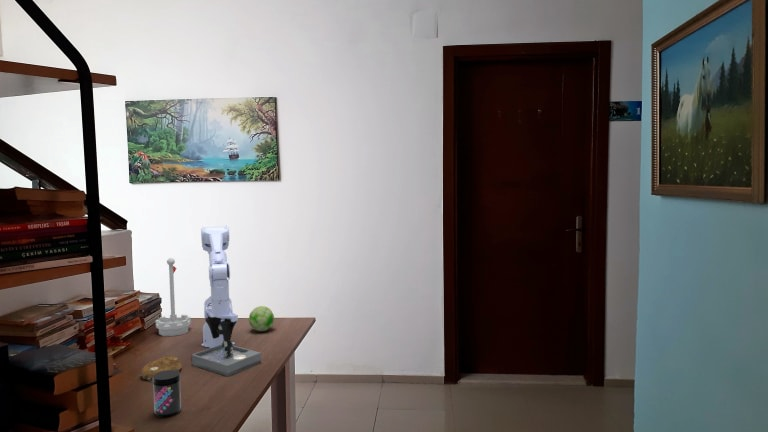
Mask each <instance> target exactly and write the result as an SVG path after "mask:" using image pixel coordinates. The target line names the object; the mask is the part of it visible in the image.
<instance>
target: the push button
mask: <svg viewBox="0 0 768 432" xmlns="http://www.w3.org/2000/svg"><path fill="white" fill-rule="evenodd" d="M216 331H217V332H218V334H220V335H222V336H223V331H222V327H221V325H219V327H217V328H216ZM232 342H233V341H232V340H231V339H230V340H229V341H226V342H225V341H224V338H223V343H222V346H223V353H224V355H226V356H227V355H230V353H231V351H232V352H233V345H234V344H232Z"/></svg>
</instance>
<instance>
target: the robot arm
mask: <svg viewBox="0 0 768 432" xmlns="http://www.w3.org/2000/svg"><path fill="white" fill-rule="evenodd" d="M200 237H201V247H202V250H203V251H205V252H207V254H208V260H209V266H208V278H209V279H208V280H209V286H210V296H209V297H208V298H206V299H205V301H204V304H203V311H204V313H203V314H204V322H205V323H204V324H203V326H202V342H203V343H201V346H203V347H206V348H208V349H209V348H212V347H215V346H218V345H221V344H222V343H223V338H224V341H225V342H226V341H229V340H230V341H231V339H232V334H233V330H234V327H235V326H236V324H237V322H238V321H239V317H238V316H239V315H238V314H235V313H233V303H232V299H231V298H230V288H229V287H230V285H229V284H230V283H229V282H230V281H229V280H230V278H231V269H230V264H229V261H228V259H227V258H228V257H227V252H226V250H228V249H229V244H230V243H229V242H230V227H228V225H225V226H224V225H223V226H202V227H201V229H200ZM219 325H221V327H222V331H223V336H222V335H220V334H218V332H217V331H216V328H217V327H219ZM231 342H232V344H233V345H235V344H236V343H235V342H233V341H231Z"/></svg>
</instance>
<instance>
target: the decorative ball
mask: <svg viewBox="0 0 768 432" xmlns="http://www.w3.org/2000/svg"><path fill="white" fill-rule="evenodd" d="M248 323H249V325H250V326H251V328H252V329H253V330H254V331H257V332H266V331H267V330H269V329H270V328H271V327H272V325H273V324H274V323H275V315H274V313H273V311H272V309H270V308H269V307H268V306H262V305H259V306H257V307H255V308H253V310H251V311H250V313H249V318H248Z"/></svg>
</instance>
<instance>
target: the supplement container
mask: <svg viewBox="0 0 768 432" xmlns="http://www.w3.org/2000/svg"><path fill="white" fill-rule="evenodd" d="M152 384H153V385H152V387H153V391H152V392H153V407H154V409H153V410H154V414H155V416H157V417H159V418H169V417H172V416H175V415H177V414H179V412H180V411H181V410H182V396H181V373H180V370H179V371H177V370H165V371H161V372H158V373H156V374H154V375H153V382H152Z"/></svg>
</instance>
